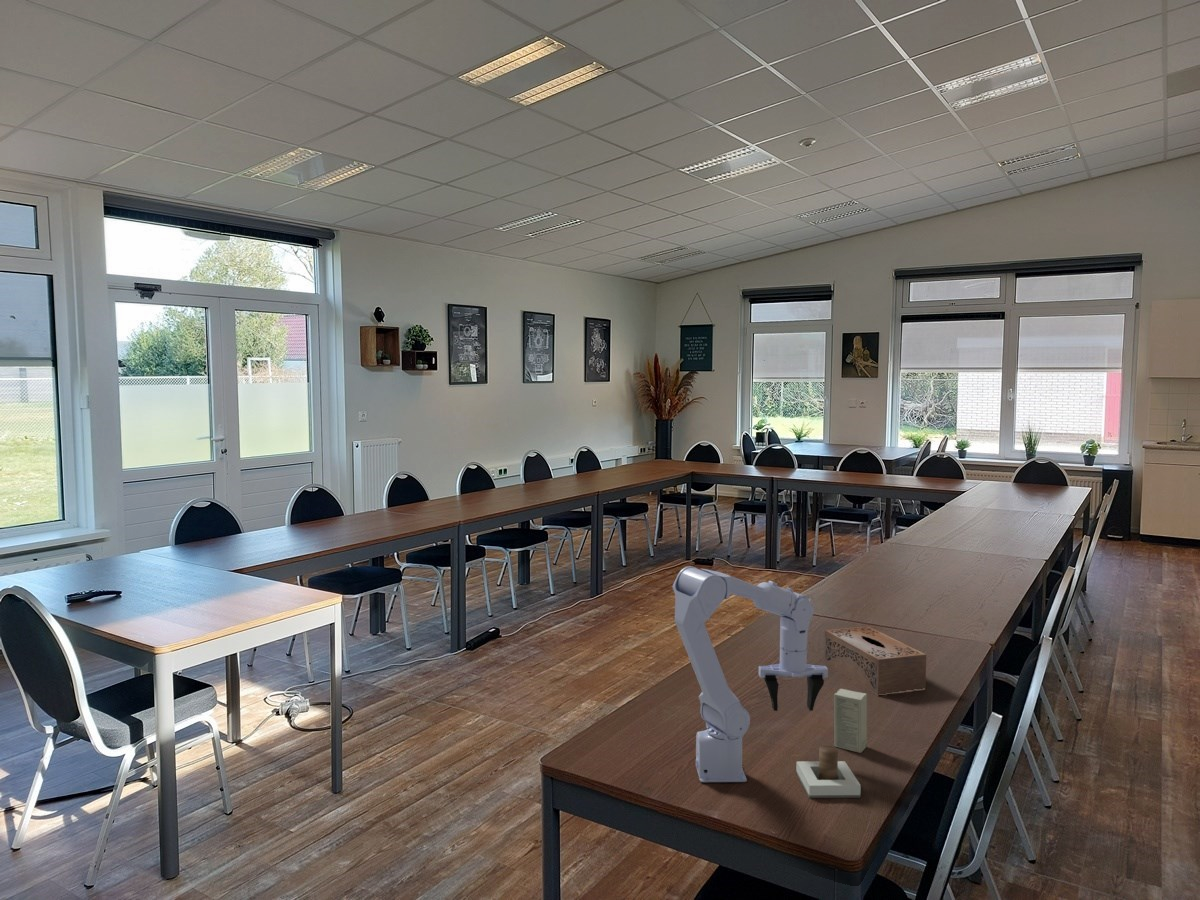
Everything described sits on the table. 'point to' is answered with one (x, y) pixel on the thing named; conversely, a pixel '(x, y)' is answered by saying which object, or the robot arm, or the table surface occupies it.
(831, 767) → the pin
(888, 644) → the tissue box cover
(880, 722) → the table surface
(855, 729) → the skincare box
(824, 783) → the socket block
